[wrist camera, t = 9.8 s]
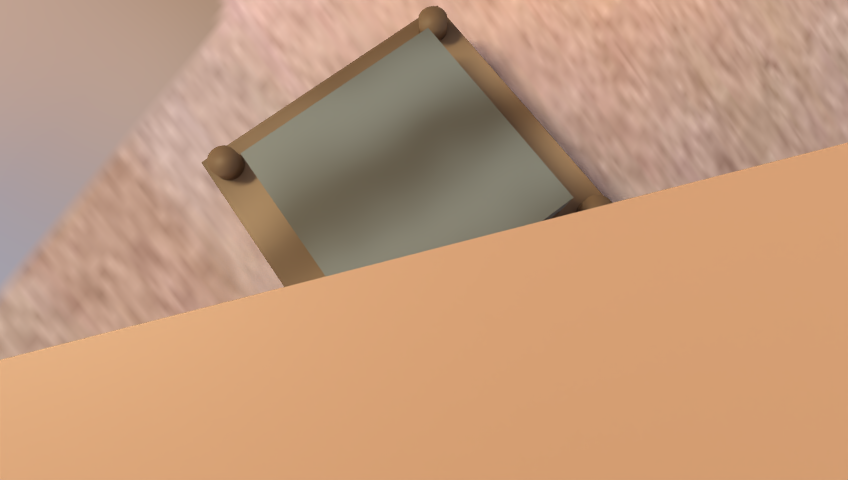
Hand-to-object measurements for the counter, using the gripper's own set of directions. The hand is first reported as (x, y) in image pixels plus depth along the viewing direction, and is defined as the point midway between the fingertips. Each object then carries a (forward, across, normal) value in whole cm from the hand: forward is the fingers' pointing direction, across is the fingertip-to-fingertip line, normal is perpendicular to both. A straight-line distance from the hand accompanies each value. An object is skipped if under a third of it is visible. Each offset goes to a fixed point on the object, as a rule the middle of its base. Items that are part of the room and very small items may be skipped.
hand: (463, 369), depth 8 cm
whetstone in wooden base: (+15, 0, +4) cm, 15 cm away
